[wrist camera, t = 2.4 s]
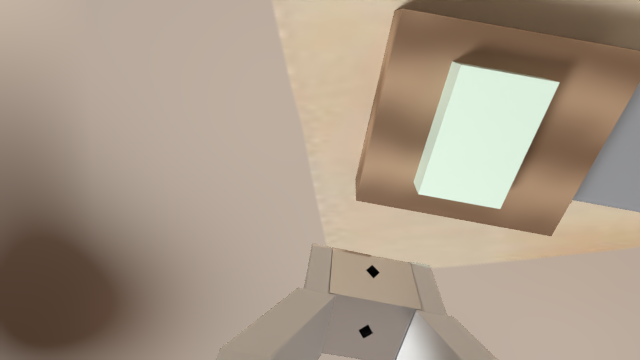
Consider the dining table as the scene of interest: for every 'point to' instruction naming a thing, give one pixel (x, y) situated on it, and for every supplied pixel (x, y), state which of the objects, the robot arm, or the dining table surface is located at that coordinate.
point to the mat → (617, 164)
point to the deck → (508, 55)
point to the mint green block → (481, 133)
